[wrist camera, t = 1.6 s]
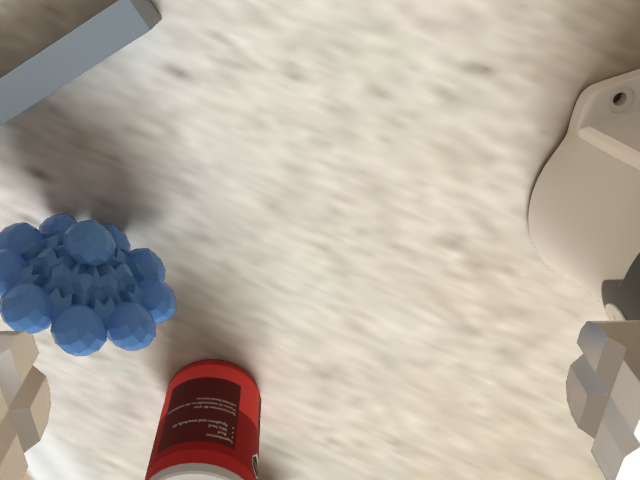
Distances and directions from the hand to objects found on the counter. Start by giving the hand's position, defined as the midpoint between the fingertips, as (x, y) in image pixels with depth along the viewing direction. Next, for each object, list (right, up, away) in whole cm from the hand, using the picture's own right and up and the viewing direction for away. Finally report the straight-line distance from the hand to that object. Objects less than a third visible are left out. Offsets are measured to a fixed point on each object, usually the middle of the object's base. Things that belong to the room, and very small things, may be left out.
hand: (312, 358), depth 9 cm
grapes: (-14, +3, +32) cm, 35 cm away
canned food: (-9, -11, +41) cm, 43 cm away
